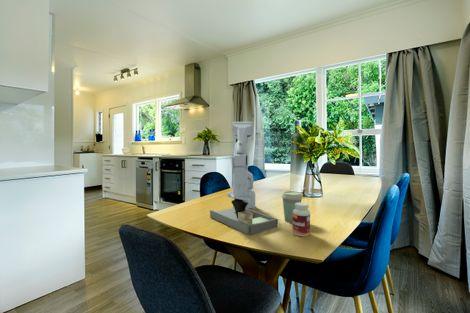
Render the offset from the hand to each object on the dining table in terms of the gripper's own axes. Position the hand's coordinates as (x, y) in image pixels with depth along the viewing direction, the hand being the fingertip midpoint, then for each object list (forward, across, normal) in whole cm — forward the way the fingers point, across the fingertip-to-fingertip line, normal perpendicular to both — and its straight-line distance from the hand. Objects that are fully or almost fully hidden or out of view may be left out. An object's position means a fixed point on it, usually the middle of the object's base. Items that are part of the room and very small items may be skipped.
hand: (239, 218), depth 98 cm
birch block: (+1, +3, 0) cm, 4 cm away
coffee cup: (+3, +8, +22) cm, 23 cm away
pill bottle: (+3, +20, +12) cm, 24 cm away
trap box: (+3, -4, +4) cm, 6 cm away
